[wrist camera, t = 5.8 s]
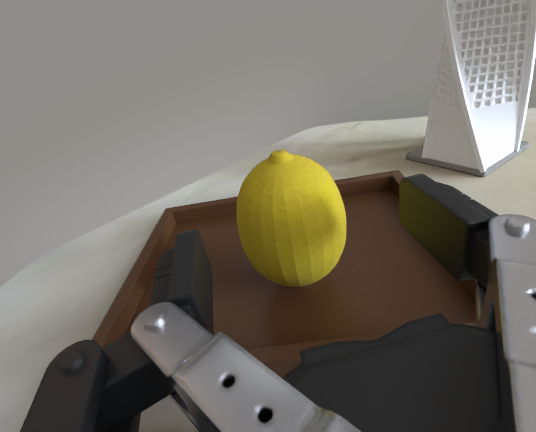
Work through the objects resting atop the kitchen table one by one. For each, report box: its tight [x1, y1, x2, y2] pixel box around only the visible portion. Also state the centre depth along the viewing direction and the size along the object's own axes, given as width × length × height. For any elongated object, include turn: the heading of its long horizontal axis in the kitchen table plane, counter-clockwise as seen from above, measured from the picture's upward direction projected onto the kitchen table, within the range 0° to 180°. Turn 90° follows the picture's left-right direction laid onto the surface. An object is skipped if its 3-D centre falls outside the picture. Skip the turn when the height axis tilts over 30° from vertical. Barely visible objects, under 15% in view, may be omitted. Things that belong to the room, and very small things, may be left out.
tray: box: [92, 170, 477, 378], centre depth 20 cm, size 20×16×2 cm
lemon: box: [237, 150, 346, 287], centre depth 16 cm, size 6×6×8 cm
